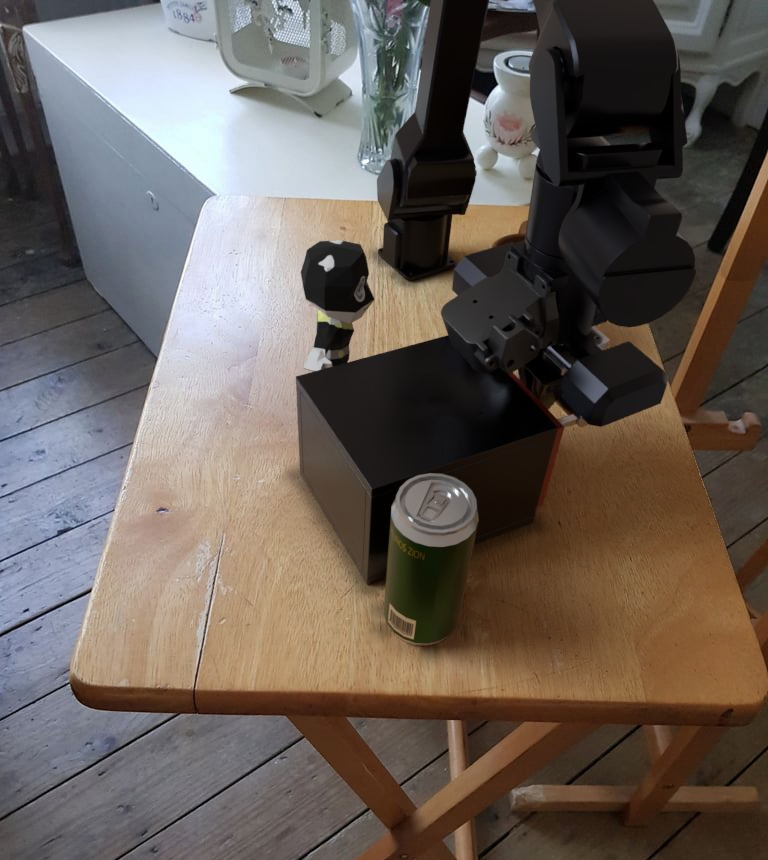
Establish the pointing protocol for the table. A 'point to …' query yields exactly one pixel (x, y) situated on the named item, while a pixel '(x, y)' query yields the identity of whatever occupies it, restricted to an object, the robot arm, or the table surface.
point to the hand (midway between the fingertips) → (535, 414)
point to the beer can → (429, 557)
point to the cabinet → (417, 442)
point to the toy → (335, 298)
